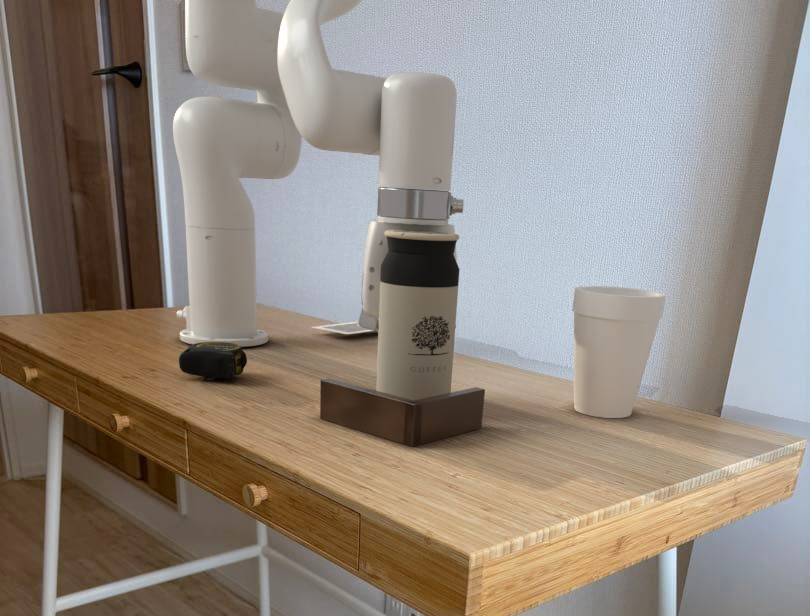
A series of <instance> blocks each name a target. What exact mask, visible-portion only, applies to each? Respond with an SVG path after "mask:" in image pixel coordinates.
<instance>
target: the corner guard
mask: <svg viewBox="0 0 810 616" xmlns="http://www.w3.org/2000/svg"><path fill="white" fill-rule="evenodd" d="M485 391H486V389H485V388H482V387H477V386H475V387H471V388H470V387H469V388H466V389H462V390H457V391H451V393H447V394H442V395H437V396H432V397H428V398H423V399H418V400H410V399H406V398H402V397H399V396H395V395H391V394H387V393H383V392H379V391H376V389H372V388H367V387H363V386H361V385H356V384H352V383H349V382H344V381H341V380H337V379H333V378H330V377H328V378H322V379H320V396H319V397H320V399H319V400H320V405H319V406H320V407H319V419H320V420H324V421H327V422H330V423H333V424H337V425H340V426H342V427H346V428H350V429H353V430H355V431H356V430H357V431H360V432H363V433H366V434H369V435H373V436H374V437H375V436H376V437H379V438H382V439H386V440H389V441H392V442H395V443H399V444H402V445H405V446H409V447H411V448H413V447H417V446H421V445H424V444H428V443H432V442H437V441H439V440H443V439H446V438H451V437H454V436H458V435H461V434H465V433H469V432H473V431H477V430H480V429H482V428H483V427H482V426H483V418H484V417H483V415H484V407H485V406H484V405H485V393H486V392H485Z"/></svg>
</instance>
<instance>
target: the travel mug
mask: <svg viewBox="0 0 810 616" xmlns="http://www.w3.org/2000/svg"><path fill="white" fill-rule="evenodd" d="M384 234H385V236H386V237H387V242H388V250H389V251H388V253H387V255H386V256H385V258H384V260H383V262H382V264H381V274H380V301H379V328H378V332H377V355H376V361H377V362H376V386H375V390H376V391H379V392H383V393H387V394H391V395H395V396H399V397H402V398H406V399H410V400H418V399H423V398H428V397H432V396H437V395H442V394H447V393H451V392H452V378H453V366H454V351H455V350H454V349H455V338H456V337H455V336H456V329H455V325H456V326H457V324H456V322H457V311H458V298H459V297H458V295H459V282H460V271H461V270H460V267H459V265H458V261H457V262H456V259H455V257H454V254H453V253H454V250H455V245H456V246H457V241H458V240H460V235H459V234H458V233H455V234H454V233H446V232H433V231H412V230H386V231H385V233H384Z"/></svg>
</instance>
